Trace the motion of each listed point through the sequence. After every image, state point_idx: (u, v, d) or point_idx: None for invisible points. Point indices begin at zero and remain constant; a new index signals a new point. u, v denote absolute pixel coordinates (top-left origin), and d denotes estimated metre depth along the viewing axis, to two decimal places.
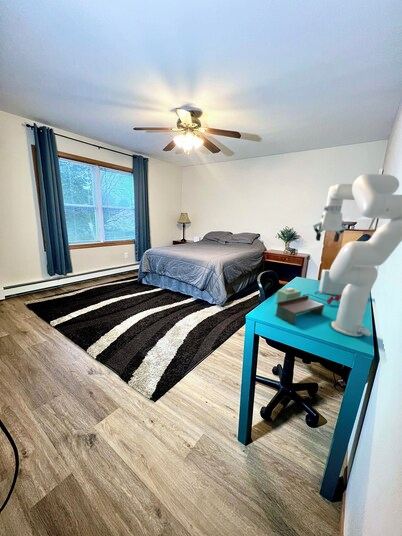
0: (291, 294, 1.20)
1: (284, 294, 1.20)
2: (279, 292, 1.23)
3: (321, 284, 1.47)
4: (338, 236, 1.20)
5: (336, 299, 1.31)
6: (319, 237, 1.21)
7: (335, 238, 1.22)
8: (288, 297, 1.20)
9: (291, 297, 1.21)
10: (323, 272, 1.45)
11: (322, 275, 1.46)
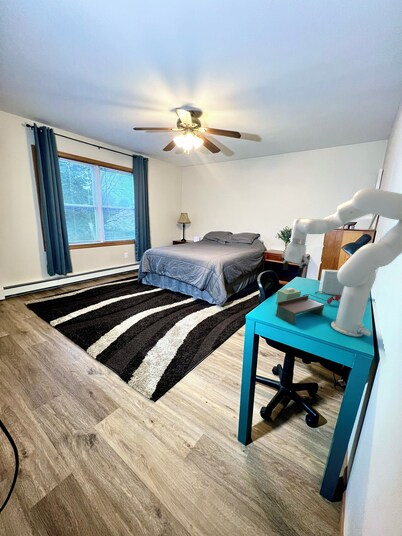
0: (291, 294, 1.20)
1: (284, 294, 1.20)
2: (279, 292, 1.23)
3: (321, 284, 1.47)
4: (299, 269, 1.16)
5: (336, 299, 1.31)
6: (283, 266, 1.25)
7: None
8: (288, 297, 1.20)
9: (291, 297, 1.21)
10: (323, 272, 1.45)
11: (322, 275, 1.46)
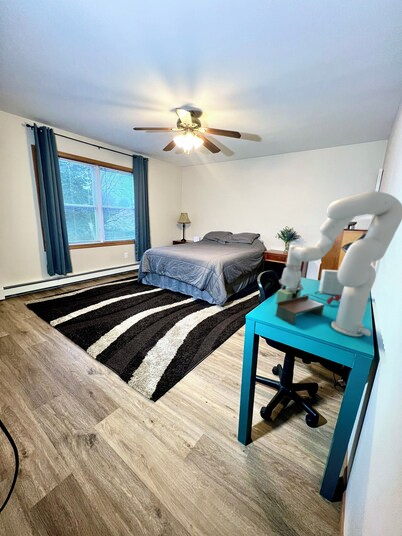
0: (291, 294, 1.20)
1: (284, 294, 1.20)
2: (279, 292, 1.23)
3: (321, 284, 1.47)
4: (293, 294, 1.20)
5: (336, 299, 1.31)
6: None
7: None
8: (288, 297, 1.20)
9: (291, 297, 1.21)
10: (323, 272, 1.45)
11: (322, 275, 1.46)
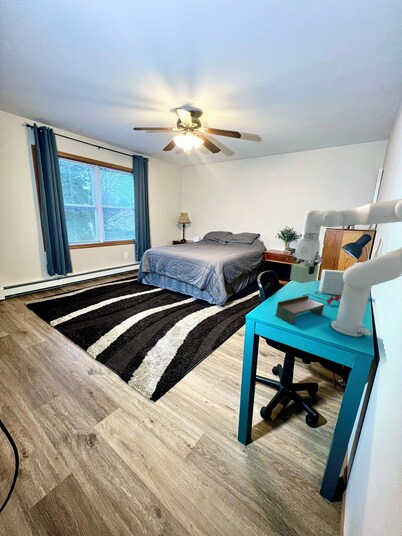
0: (308, 268, 1.04)
1: (300, 268, 1.04)
2: (294, 266, 1.07)
3: (321, 284, 1.47)
4: (310, 268, 1.04)
5: (336, 299, 1.31)
6: None
7: None
8: (304, 271, 1.04)
9: (308, 271, 1.05)
10: (323, 272, 1.45)
11: (322, 275, 1.46)
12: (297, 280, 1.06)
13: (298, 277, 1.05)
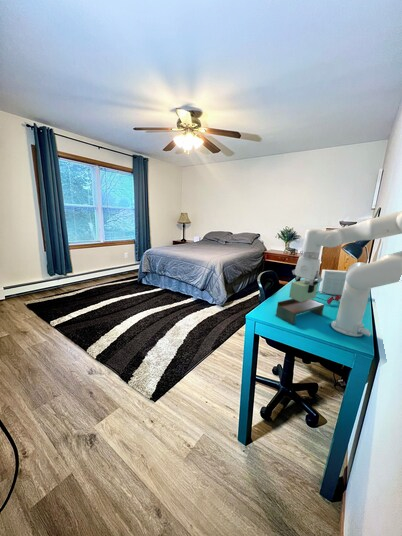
0: (307, 286, 1.04)
1: (299, 286, 1.03)
2: (293, 284, 1.06)
3: (321, 284, 1.47)
4: (309, 287, 1.04)
5: (336, 299, 1.31)
6: None
7: None
8: (304, 290, 1.03)
9: (307, 290, 1.04)
10: (323, 272, 1.45)
11: (322, 275, 1.46)
12: (296, 298, 1.05)
13: (297, 295, 1.05)
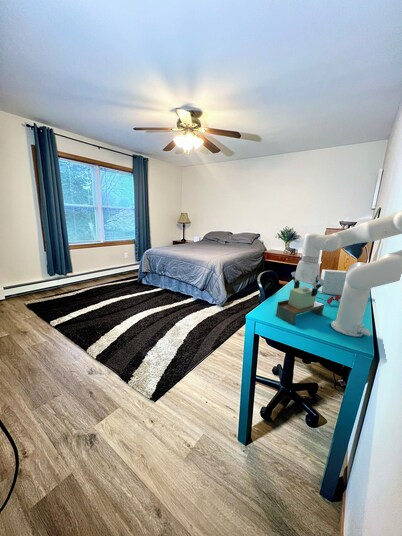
0: (306, 294, 1.05)
1: (298, 294, 1.04)
2: (292, 291, 1.07)
3: None
4: (312, 290, 1.03)
5: (336, 299, 1.31)
6: (294, 286, 1.11)
7: None
8: (303, 297, 1.04)
9: (306, 297, 1.05)
10: (323, 272, 1.45)
11: (322, 275, 1.46)
12: (295, 305, 1.06)
13: (296, 303, 1.06)
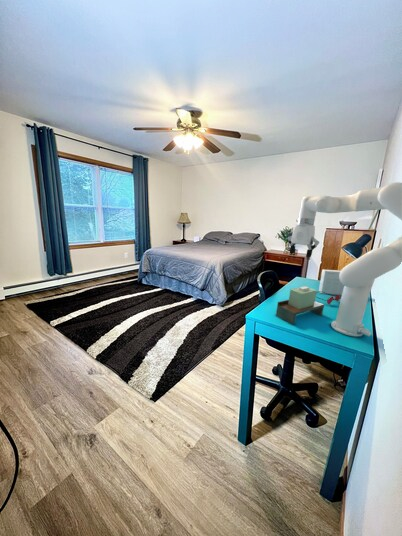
0: (306, 294, 1.05)
1: (298, 294, 1.04)
2: (292, 291, 1.07)
3: (321, 284, 1.47)
4: (307, 251, 1.08)
5: (336, 299, 1.31)
6: (290, 250, 1.17)
7: None
8: (303, 297, 1.04)
9: (306, 297, 1.05)
10: (323, 272, 1.45)
11: (322, 275, 1.46)
12: (295, 305, 1.06)
13: (296, 303, 1.06)
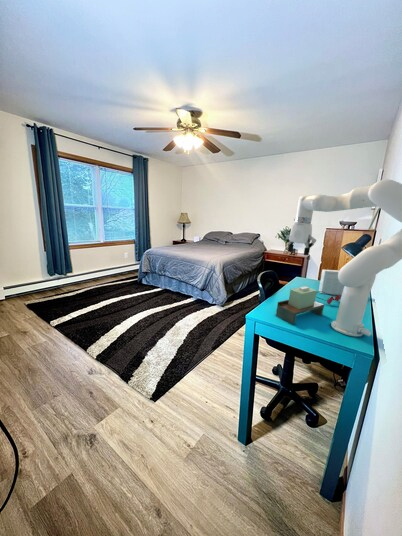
0: (306, 294, 1.05)
1: (298, 294, 1.04)
2: (292, 291, 1.07)
3: (321, 284, 1.47)
4: (305, 249, 1.11)
5: (336, 299, 1.31)
6: (288, 248, 1.19)
7: None
8: (303, 297, 1.04)
9: (306, 297, 1.05)
10: (323, 272, 1.45)
11: (322, 275, 1.46)
12: (295, 305, 1.06)
13: (296, 303, 1.06)
